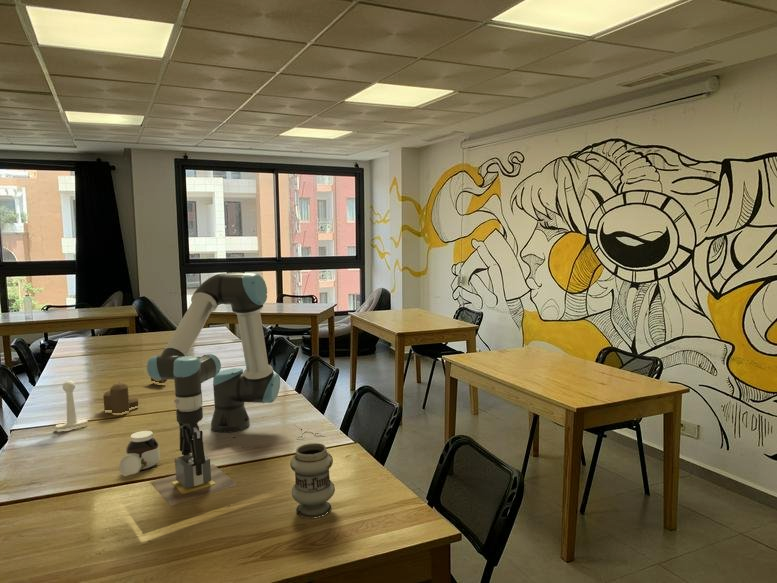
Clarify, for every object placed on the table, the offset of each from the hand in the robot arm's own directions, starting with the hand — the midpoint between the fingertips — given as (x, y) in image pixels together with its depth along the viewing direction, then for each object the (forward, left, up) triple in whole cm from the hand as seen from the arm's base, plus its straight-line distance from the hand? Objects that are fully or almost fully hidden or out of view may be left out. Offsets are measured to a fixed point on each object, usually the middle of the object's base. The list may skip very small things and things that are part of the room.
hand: (193, 479), depth 167 cm
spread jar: (-25, -9, -3) cm, 27 cm away
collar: (0, 0, 0) cm, 0 cm away
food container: (-132, +30, -3) cm, 135 cm away
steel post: (0, 0, -1) cm, 1 cm away
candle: (-97, +2, -3) cm, 97 cm away
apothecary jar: (+36, +21, -3) cm, 42 cm away
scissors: (-20, +51, -3) cm, 55 cm away
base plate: (0, 0, -3) cm, 3 cm away
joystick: (-88, -19, -3) cm, 90 cm away
